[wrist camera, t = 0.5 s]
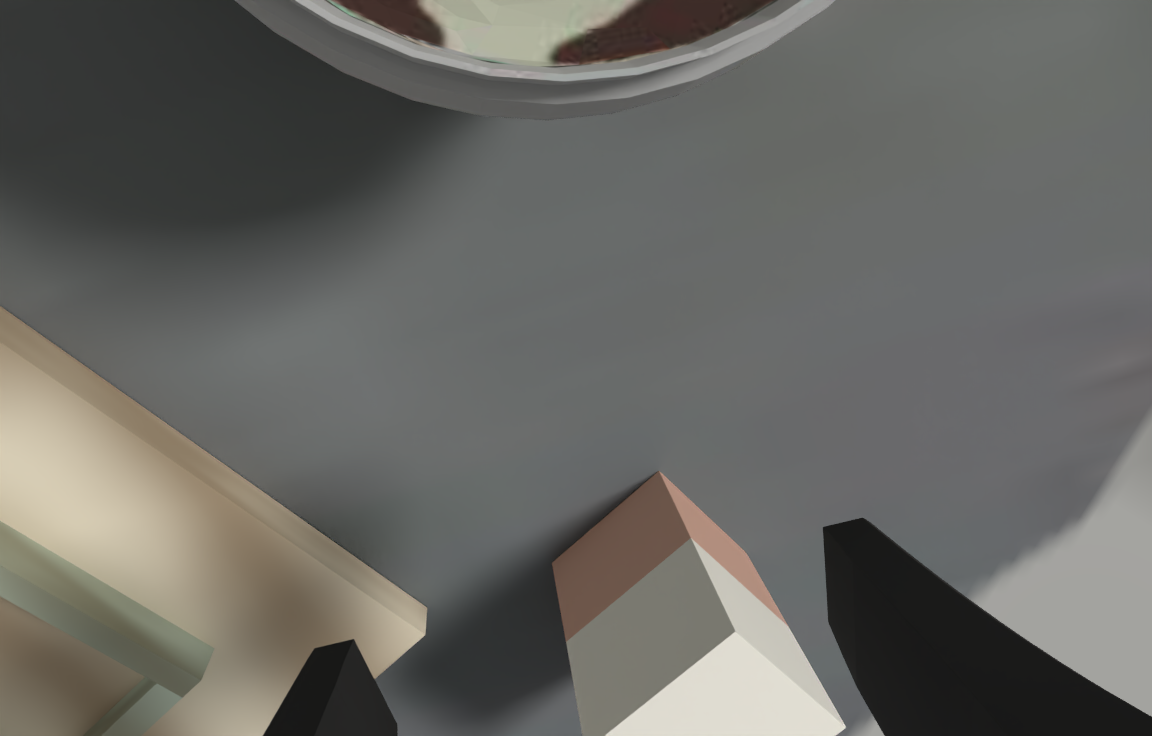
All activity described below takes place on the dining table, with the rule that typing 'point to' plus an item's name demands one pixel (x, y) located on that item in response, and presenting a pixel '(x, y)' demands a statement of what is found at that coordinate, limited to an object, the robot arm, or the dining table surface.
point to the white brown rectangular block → (680, 630)
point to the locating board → (155, 570)
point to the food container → (534, 47)
